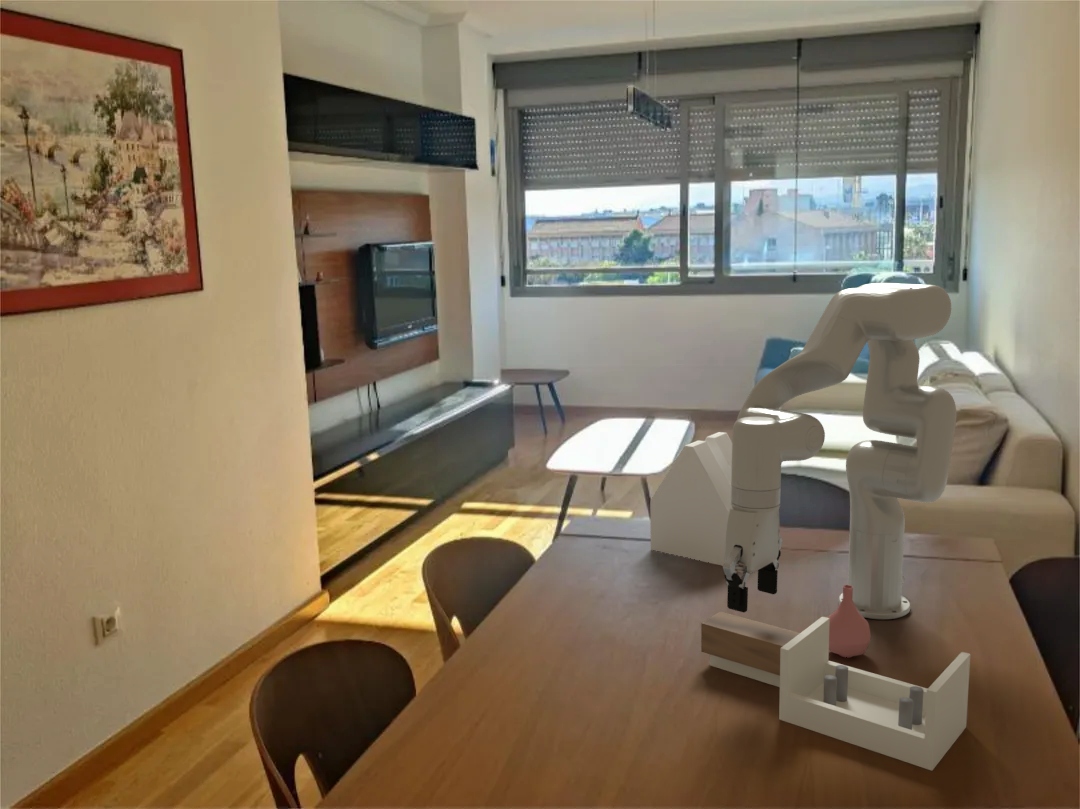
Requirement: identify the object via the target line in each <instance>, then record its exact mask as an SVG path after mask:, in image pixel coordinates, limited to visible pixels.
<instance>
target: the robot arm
mask: <svg viewBox="0 0 1080 809" xmlns="http://www.w3.org/2000/svg"><path fill="white" fill-rule="evenodd" d="M951 313H952V302H951V298H950V295H949V294H948V292H947V291H946V289H944V288H943V287H941V286H939V285H935V284H923V283H922V284H921V283H919V284H918V283H898V282H872V283H871V282H870V283H865V284H862V285H860V286H858V287H851V288H844V289H842V290H840V291H838V292H836V293H835V294H834V295H833V296H832V297H831V299H830V301H828V304H827V306H826V308H825V310H824V311H823V313H822V315H821V317H820V318H819V320H818V321H817V324H816V325H815V327H814V329H813V331H812V332H811V334H810V335H809V337H808V339H807V341H806V343H805V344H804V346H803V348H802V350H801V352H799V353H798V354H797V355H795V356H793V357H791V358H789V359H788V360H786V361H784V362H783V363H781V364H780V365H778V366H777V367H775V368H774V369H772V370H771V371H770V372H768V373H767V374H765V375H763V377H761V379H760V380H759V381H758V382H756V384H755V385H754V386H753V388H752V389H751V391H750V393H749V394H748V396H747V397H746V400H745V401H744V403H743V405H742V406H741V408H740V411H739V413H738V415H737V418H736V421H735V422H734V424H733V426H732V436H731V438H732V439H731V441H732V475H731V506H732V507H731V508H730V512H729V517H728V522H727V530H726V540H725V554H724V563H723V566H722V569H723V572H724V575H723V576H724V579H725V581H726V582H725V584H726V585H727V599H726V601H727V602H726V603H727V608H728V609H729V610H733V611H736V612H740V613H746V612H748V604H749V603H748V598H749V597H748V596H749V593H748V592H749V587H748V586H746V585H747V582H748V580H749V577H750V574H753V573H755V572H756V571H757V591H759V592H762V593H765V594H770V595H775V594H778V573H779V572H778V570H779V568H780V562H779V559H780V557H781V554H782V552H781V548H782V545H783V537H782V536H781V535H780V530H781V529H780V512H779V511H780V510H779V509H780V508H781V485H782V483H781V481H782V480H781V479H782V463H783V462H791V461H792V462H800V461H806V460H808V459H812V458H813V457H815V456H816V455H817V454H818V453H819V452H820V451H821V449H822V448H823V446H824V443H825V439H826V438H825V437H826V435H825V434H826V433H825V428H824V426H823V424H822V422H821V421H820V420H819V419H818V418H817V417H815V416H813V415H811V414H807V413H803V412H799V411H790V410H787V409H780V408H781V407H782V406H784V405H785V404H787V403H788V402H789V401H790V400H792V399H794V398H797V397H799V396H802V395H804V394H808V393H812V392H816V391H820V390H823V389H826V388H829V387H832V386H835V385H837V384H841V383H842V382H844V381H846V379H847V378H848V377H849V375H850V374H851V372H852V370H853V368H854V366H855V365H856V362H857V360H858V358H859V357H860V354H861V353H862V351H863V349H864V347H865V346H866V344H867V347H868V352H869V354H868V355H869V361H868V370H867V378H866V385H865V392H864V399H863V406H862V420H863V423H864V425H865V426H866V428H867V429H869V430H870V431H872V432H877V433H880V434H883V435H891V436H894V437H895V436H896V437H902V438H908V439H909V438H910V439H915V440H916V446H913V445H906V444H902V443H896V442H891V441H885V440H877V439H868V440H862V441H860V442H858V443H855V444H854V445H853V446H852V447H851V448H850V449H849V451H848V452H847V455H846V460H845V473H846V479H847V485H848V491H849V506H850V508H849V515H850V516H849V536H848V537H849V538H848V539H849V540H848V541H849V544H848V545H849V546H848V567H847V569H848V574H847V577H848V578H847V585H851V586H853V597H852V600H853V602H854V604H855V606H856V608H857V610H858V612H859V613H860V614H861V615H862V616H863V617H864V618H866V619H872V620H892V619H895V620H896V619H899V618H902V617H904V616H907V615H908V614H909V613H910V610H911V603H910V601H909V599H908V598H906V597H904V596H903V594H902V592H903V591H902V590H903V584H904V582H905V577H904V576H903V567H904V566H903V564H904V549H905V548H904V547H905V546H904V544H905V530H906V529H905V528H906V527H905V526H906V525H905V524H906V523H905V522H906V520H905V514H904V509H903V507H902V505H901V503H900V501H899V499H902V500H907V501H912V502H917V503H924V504H925V503H926V504H929V503H934V502H936V501H938V500H939V499H940V498H942V496H943V494H944V492H945V489H946V487H947V483H948V479H949V473H950V468H951V459H952V452H953V448H954V447H953V446H954V439H955V432H956V425H957V406H956V402H955V399H954V398H953V396H952V395H951V393H950V392H949V391H948V390H946V389H944V388H941V387H938V386H931V385H922V384H918V378H919V368H920V358H921V357H920V352H919V350H918V347H917V345H916V343H915V341H914V340H919V339H922V338H926V337H930V336H935V335H936V334H938V333H940V332H941V331H942V330H943V329H944V328H945V327H946V325H947V324H948V322H949V320H950V318H951V317H950V316H951ZM738 573H741V574H742V575H741V577H740V576H739V574H738ZM842 600H843V592H842V593H841V594H840V595H839V597H838V604H839V605H840V603H841V602H842ZM839 605H838V606H839Z"/></svg>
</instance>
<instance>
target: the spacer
mask: <svg viewBox="0 0 1080 809" xmlns="http://www.w3.org/2000/svg"><path fill="white" fill-rule="evenodd" d="M709 666H710V667H714V668H718V669H720V670H722V671H723V670H724V671H725V672H726V671H727V672H730V673H733V674H737V675H739V676H743V677H745V678H746V677H747V678H748V679H749V678H750V679H752V680H756V681H759V682H762V683H765V684H768V685H771V686H775V687H778V688H780V676H779V675H776V674H773V673H769V672H766V671H763V670H760V669H756V668H753V667H750V666H746V665H743V664H740V663H737V662H733V661H730V660H727V659H723V658H720V657H717V656H714V655H710V654H709Z"/></svg>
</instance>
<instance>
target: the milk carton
mask: <svg viewBox="0 0 1080 809" xmlns="http://www.w3.org/2000/svg"><path fill="white" fill-rule="evenodd" d="M731 475H732V439H731V438H730V436H729V434H728V432H722V431H718V432H715V433H712V434H710V435H707V436H706V437H705V438H704V440H700V439H699V440H698V439H697V440H696V441H693V442H690V443H687V444H685V445H684V446H683V447H682V450H681V451H680V452H679V454H678V456H677V458H675V461H674V462H673V464H671V467H670V468H669V470H668V472H667V473H666V475H665V477H663V479H662V481H661V483H660V484H659V485H658V488H657V489H656V491H655V493H654V494H653V495H652V497H651V499H650V501H649V502H650V505H649V506H650V508H649V509H650V510H649V512H650V513H649V514H650V518H649V519H650V550H651V549H652V550H651V551H653V550H657V551H661V552H660V553H662V552H665V553H664V554H666V553H669V554H668V555H671V554H675V555H674V556H676V555H678V556H677V557H680V556H683V557H682V558H685V557H688V558H687V559H690V558H691V560H694V559H695V561H699V560H700V562H704V563H708V562H709V563H708V564H712V565H719V566H722V567H723V563H724V554H725V540H726V530H727V522H728V517H729V512H730V508H731V507H732V506H731ZM657 551H656V552H657Z"/></svg>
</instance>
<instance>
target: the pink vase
mask: <svg viewBox="0 0 1080 809" xmlns="http://www.w3.org/2000/svg"><path fill="white" fill-rule="evenodd" d="M842 593H843V600H842V602H841V603H840V605H838V606H837V608H836V610H834V612H832V613H831V614H829V615H828V616H826V618H830V623H829V652H831V653H834V654H836V655H839V656H840V657H843V658H846V657H847V658H852V657H857V656H861V655H863V654H865V653H866V651H867V649H868V647H869V645H870V641H871V639H872V636H871V635H872V634H871V628H870V624H869V622H868V620H867V619H865V617H863V616H862V615H861V614H860V613H859V612H858V610H857V608H856V606H855V604H854V602H853V600H852V597H853V586H851V585H848V584H844V585H842Z"/></svg>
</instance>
